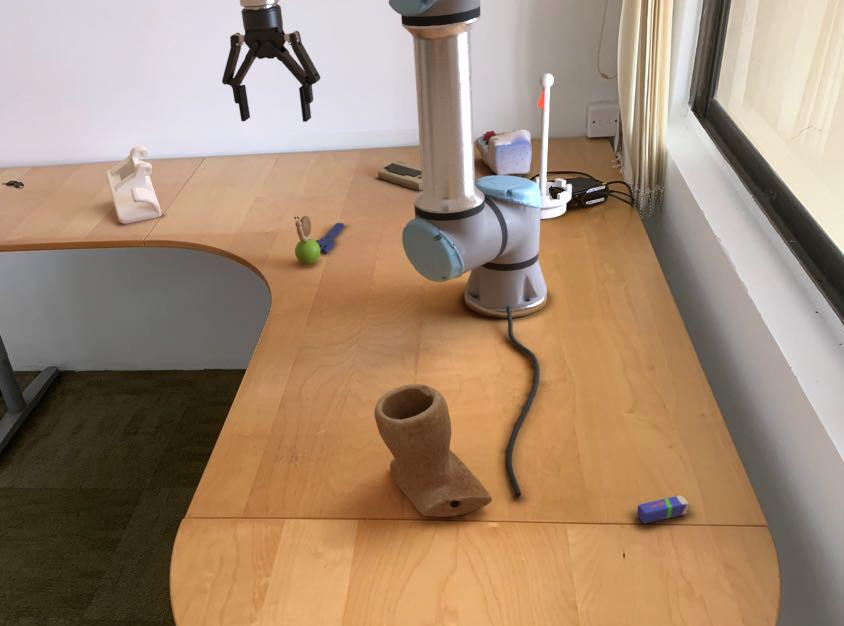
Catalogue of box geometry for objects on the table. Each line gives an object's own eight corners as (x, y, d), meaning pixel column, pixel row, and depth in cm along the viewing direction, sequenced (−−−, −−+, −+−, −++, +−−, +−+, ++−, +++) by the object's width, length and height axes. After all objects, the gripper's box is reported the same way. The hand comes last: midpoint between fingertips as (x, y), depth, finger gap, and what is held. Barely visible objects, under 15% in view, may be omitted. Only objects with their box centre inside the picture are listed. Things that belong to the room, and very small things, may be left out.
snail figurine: (291, 270, 179) (283, 216, 172) (301, 257, 184) (294, 204, 177) (315, 271, 177) (308, 217, 170) (325, 258, 182) (318, 205, 175)
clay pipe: (369, 471, 120) (360, 383, 112) (445, 448, 123) (441, 361, 114) (411, 538, 108) (404, 445, 100) (494, 511, 111) (494, 418, 102)
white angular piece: (167, 230, 217) (161, 194, 206) (123, 239, 215) (114, 203, 203) (150, 175, 226) (143, 138, 215) (107, 184, 224) (98, 146, 212)
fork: (326, 254, 184) (325, 250, 183) (308, 252, 185) (308, 249, 185) (348, 226, 195) (348, 223, 195) (331, 226, 197) (331, 222, 196)
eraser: (687, 515, 107) (689, 503, 106) (644, 525, 106) (645, 513, 105) (679, 505, 108) (681, 493, 107) (636, 515, 108) (637, 503, 106)
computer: (377, 179, 220) (376, 166, 218) (400, 170, 224) (399, 158, 222) (419, 191, 210) (418, 178, 208) (442, 182, 214) (441, 169, 212)
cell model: (492, 139, 204) (472, 119, 221) (492, 182, 210) (473, 159, 227) (544, 131, 205) (521, 112, 222) (543, 175, 211) (520, 153, 227)
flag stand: (524, 196, 201) (528, 64, 184) (578, 202, 195) (587, 66, 178) (503, 216, 192) (505, 79, 175) (559, 223, 186) (566, 82, 169)
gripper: (329, -1, 158) (339, 114, 170) (210, 4, 166) (228, 113, 177) (314, 7, 152) (327, 125, 164) (193, 12, 160) (213, 124, 172)
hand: (276, 119), depth 171 cm, fingers open, 13 cm apart
